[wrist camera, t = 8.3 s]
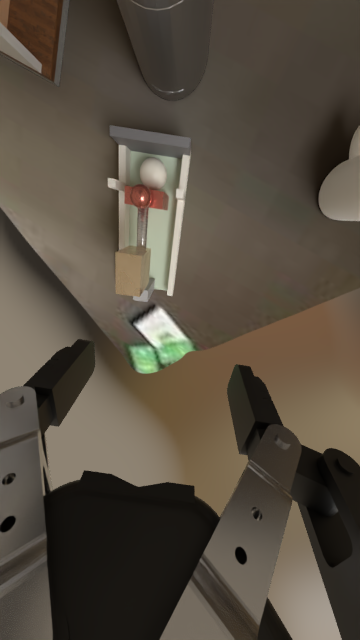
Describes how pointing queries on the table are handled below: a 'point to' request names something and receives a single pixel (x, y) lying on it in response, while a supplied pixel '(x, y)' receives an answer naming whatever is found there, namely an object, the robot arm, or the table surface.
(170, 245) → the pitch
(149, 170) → the ball
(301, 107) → the table surface
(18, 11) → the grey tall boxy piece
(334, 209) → the mug
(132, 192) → the striker
